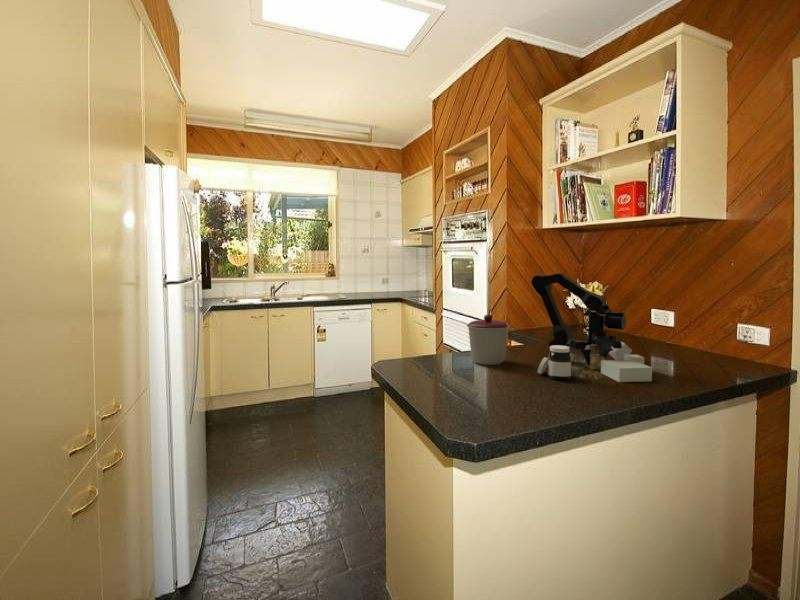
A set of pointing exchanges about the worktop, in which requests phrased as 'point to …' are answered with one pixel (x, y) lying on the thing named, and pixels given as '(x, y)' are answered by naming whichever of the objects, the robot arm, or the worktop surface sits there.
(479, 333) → the canister
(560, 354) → the spread jar
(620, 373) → the sage base block
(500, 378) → the worktop surface
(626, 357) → the grey cube
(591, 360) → the oak cube
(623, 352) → the die
